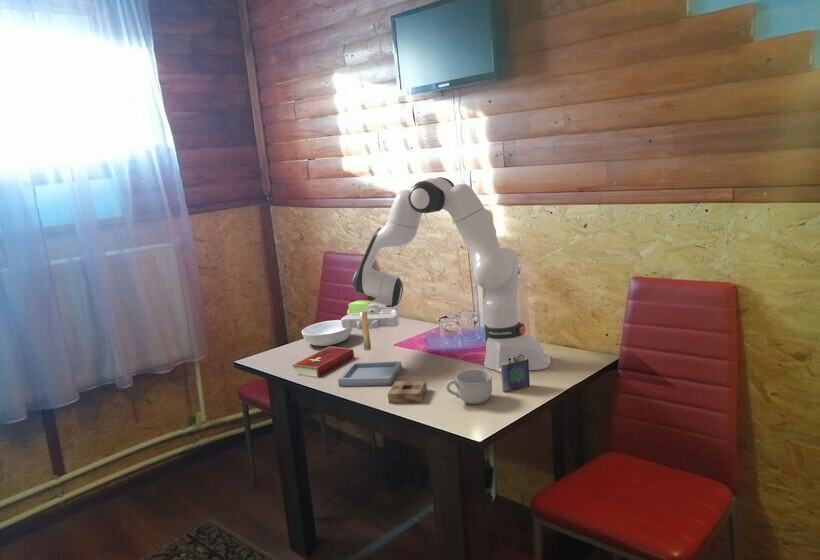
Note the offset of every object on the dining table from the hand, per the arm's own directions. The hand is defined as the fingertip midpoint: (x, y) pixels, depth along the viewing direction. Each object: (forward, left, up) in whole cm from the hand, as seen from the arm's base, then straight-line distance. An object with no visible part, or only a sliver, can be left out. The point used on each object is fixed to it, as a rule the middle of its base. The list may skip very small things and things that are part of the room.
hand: (364, 327), depth 207 cm
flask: (-50, +11, -19) cm, 54 cm away
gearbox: (+22, -71, -19) cm, 77 cm away
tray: (0, -1, -18) cm, 18 cm away
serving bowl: (+30, -41, -19) cm, 55 cm away
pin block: (-17, +16, -18) cm, 29 cm away
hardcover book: (+22, -14, -19) cm, 32 cm away
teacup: (-37, +20, -19) cm, 46 cm away
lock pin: (0, -1, -8) cm, 8 cm away
